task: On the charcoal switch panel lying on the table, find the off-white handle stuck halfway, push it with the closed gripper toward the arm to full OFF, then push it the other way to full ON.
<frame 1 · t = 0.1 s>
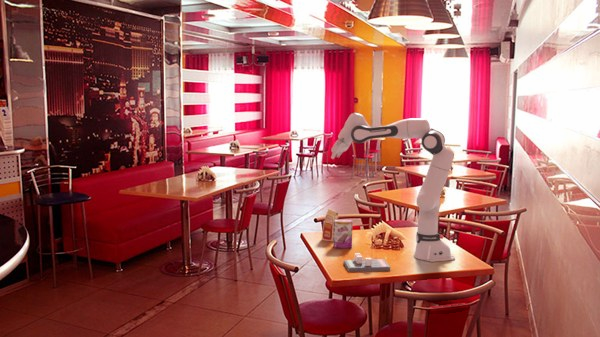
hand: (334, 157, 316), 54 cm above the table, tool tilted 30°, fingers open, 8 cm apart
handle back: (357, 257, 287), point 4 cm above the table, slide at 8.0 cm
milk carton: (331, 239, 339), on the table
breaker panel: (366, 266, 283), on the table
handle middle: (359, 259, 282), point 4 cm above the table, slide at 8.0 cm
tripped handle: (368, 261, 278), point 4 cm above the table, slide at 4.0 cm
candy bar box: (342, 247, 321), on the table
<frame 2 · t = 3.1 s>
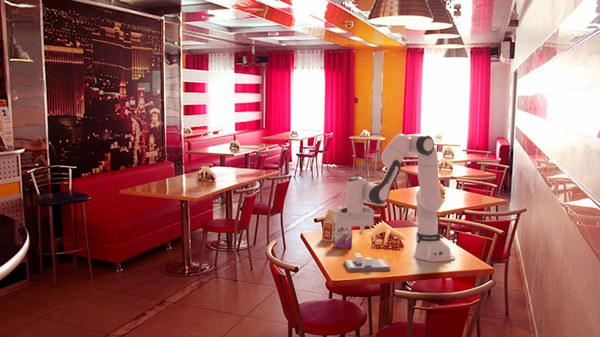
hand: (353, 234, 275), 19 cm above the table, tool pointing down, fingers open, 6 cm apart
nothing on the table moved.
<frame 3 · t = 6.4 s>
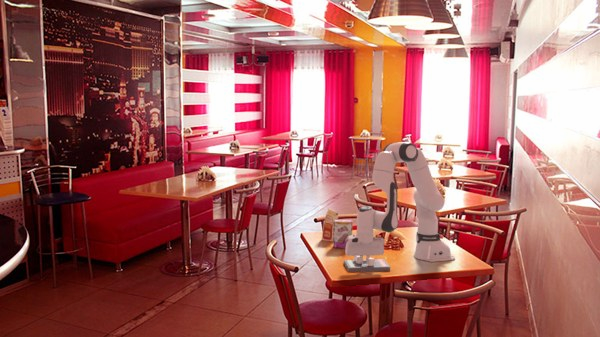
hand: (364, 263, 278), 3 cm above the table, tool pointing down, fingers closed
tripped handle: (371, 261, 278), point 4 cm above the table, slide at 2.7 cm, touching gripper
everything else where it was.
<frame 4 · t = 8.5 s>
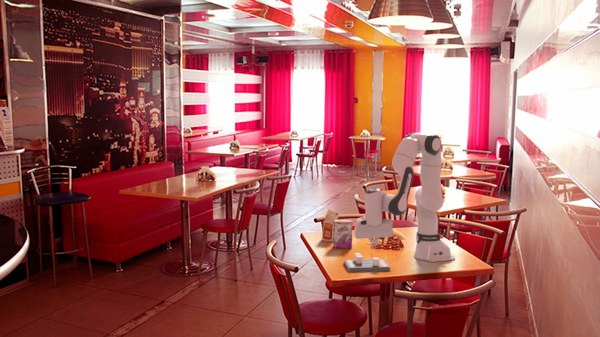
hand: (373, 245, 277), 13 cm above the table, tool pointing down, fingers closed
tripped handle: (376, 261, 278), point 4 cm above the table, slide at 0.0 cm
everything else where it was.
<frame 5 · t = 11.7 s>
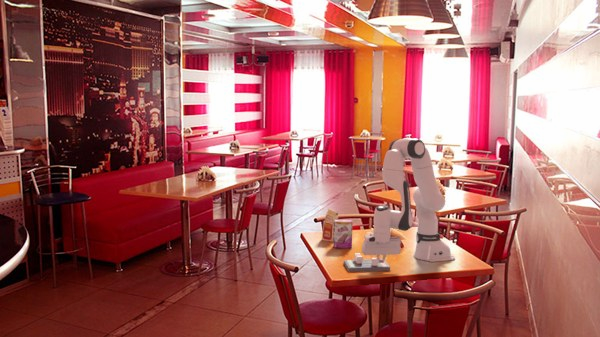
hand: (381, 262, 279), 4 cm above the table, tool pointing down, fingers closed
tripped handle: (374, 261, 278), point 4 cm above the table, slide at 0.6 cm, touching gripper
everything else where it was.
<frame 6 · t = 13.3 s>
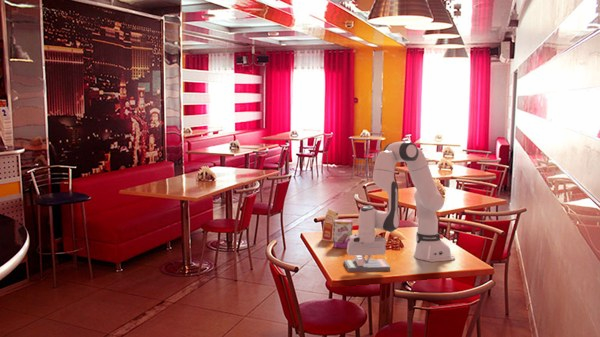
hand: (365, 262, 278), 4 cm above the table, tool pointing down, fingers closed
tripped handle: (360, 262, 278), point 4 cm above the table, slide at 8.3 cm, touching gripper
everything else where it was.
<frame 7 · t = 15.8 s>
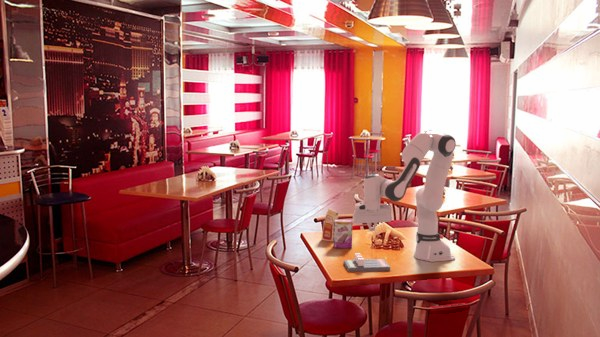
hand: (372, 230, 280), 20 cm above the table, tool pointing down, fingers closed
tripped handle: (360, 262, 278), point 4 cm above the table, slide at 8.1 cm
everything else where it was.
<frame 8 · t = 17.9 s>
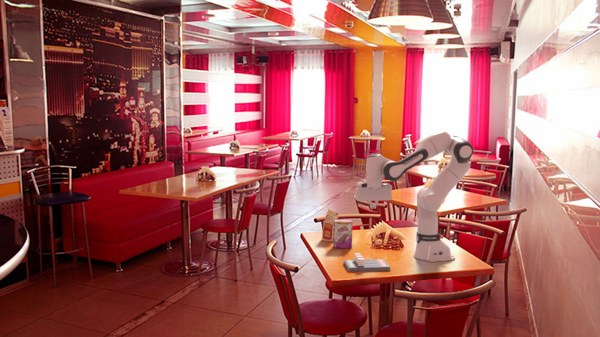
hand: (373, 208, 293), 29 cm above the table, tool pointing down, fingers closed
nothing on the table moved.
at the end: tripped handle slide at 8.1 cm; handle middle slide at 8.0 cm; handle back slide at 8.0 cm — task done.
